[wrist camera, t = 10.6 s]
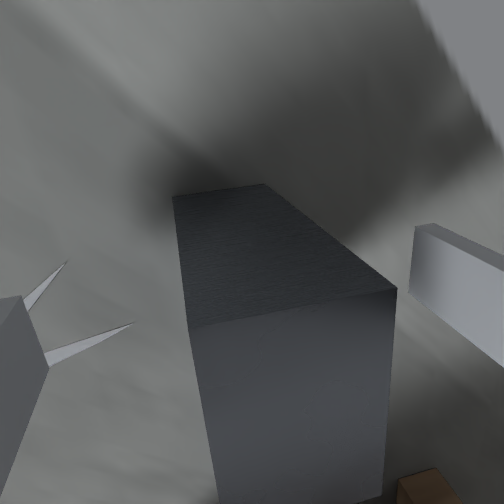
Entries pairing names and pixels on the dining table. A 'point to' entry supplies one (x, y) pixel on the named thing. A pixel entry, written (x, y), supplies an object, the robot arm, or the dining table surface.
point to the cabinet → (425, 489)
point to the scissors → (71, 349)
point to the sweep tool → (285, 350)
